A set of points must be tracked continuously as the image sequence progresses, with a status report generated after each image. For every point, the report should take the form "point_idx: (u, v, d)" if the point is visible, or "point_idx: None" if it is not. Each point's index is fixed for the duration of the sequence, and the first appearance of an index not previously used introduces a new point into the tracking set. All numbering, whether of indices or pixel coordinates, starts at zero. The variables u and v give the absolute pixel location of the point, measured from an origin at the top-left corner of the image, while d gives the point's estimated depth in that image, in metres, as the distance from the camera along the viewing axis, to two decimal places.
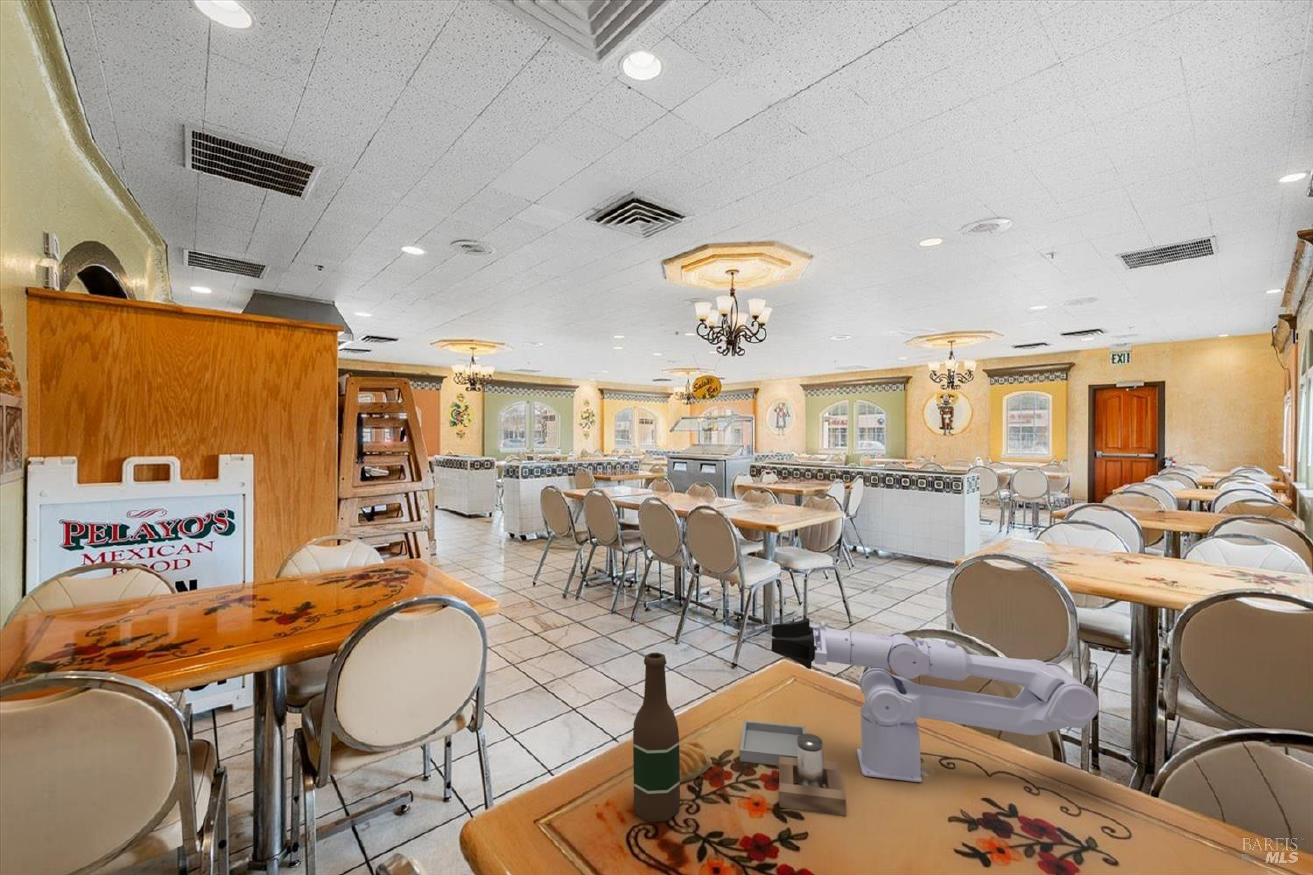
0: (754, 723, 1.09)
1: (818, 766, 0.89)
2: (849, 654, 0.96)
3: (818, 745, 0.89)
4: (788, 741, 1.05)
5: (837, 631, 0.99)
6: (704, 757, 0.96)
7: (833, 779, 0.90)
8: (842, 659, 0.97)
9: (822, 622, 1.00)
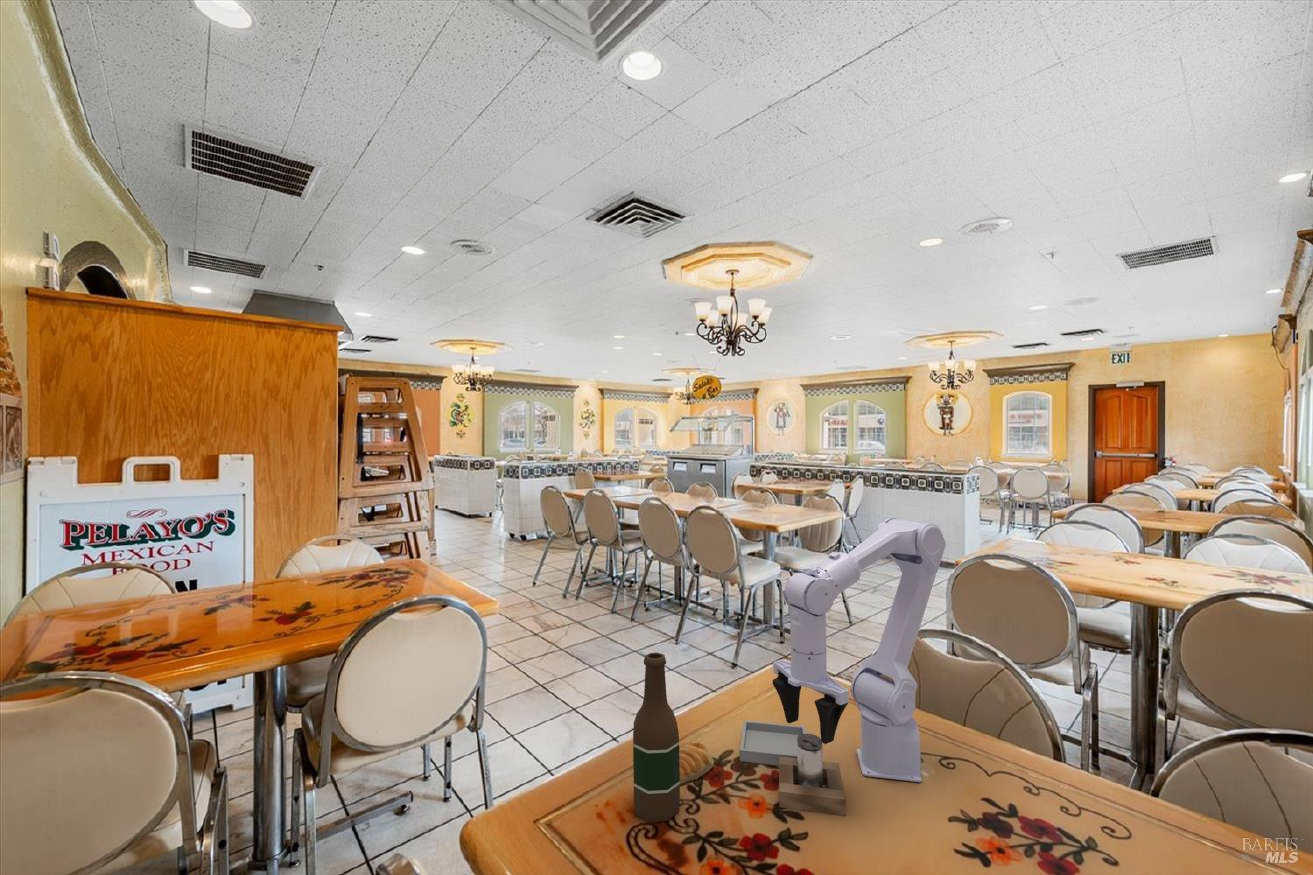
0: (754, 723, 1.09)
1: (818, 766, 0.89)
2: (822, 654, 0.89)
3: (818, 745, 0.89)
4: (788, 741, 1.05)
5: (798, 665, 0.89)
6: (706, 757, 0.96)
7: (833, 779, 0.90)
8: None
9: (792, 683, 0.89)
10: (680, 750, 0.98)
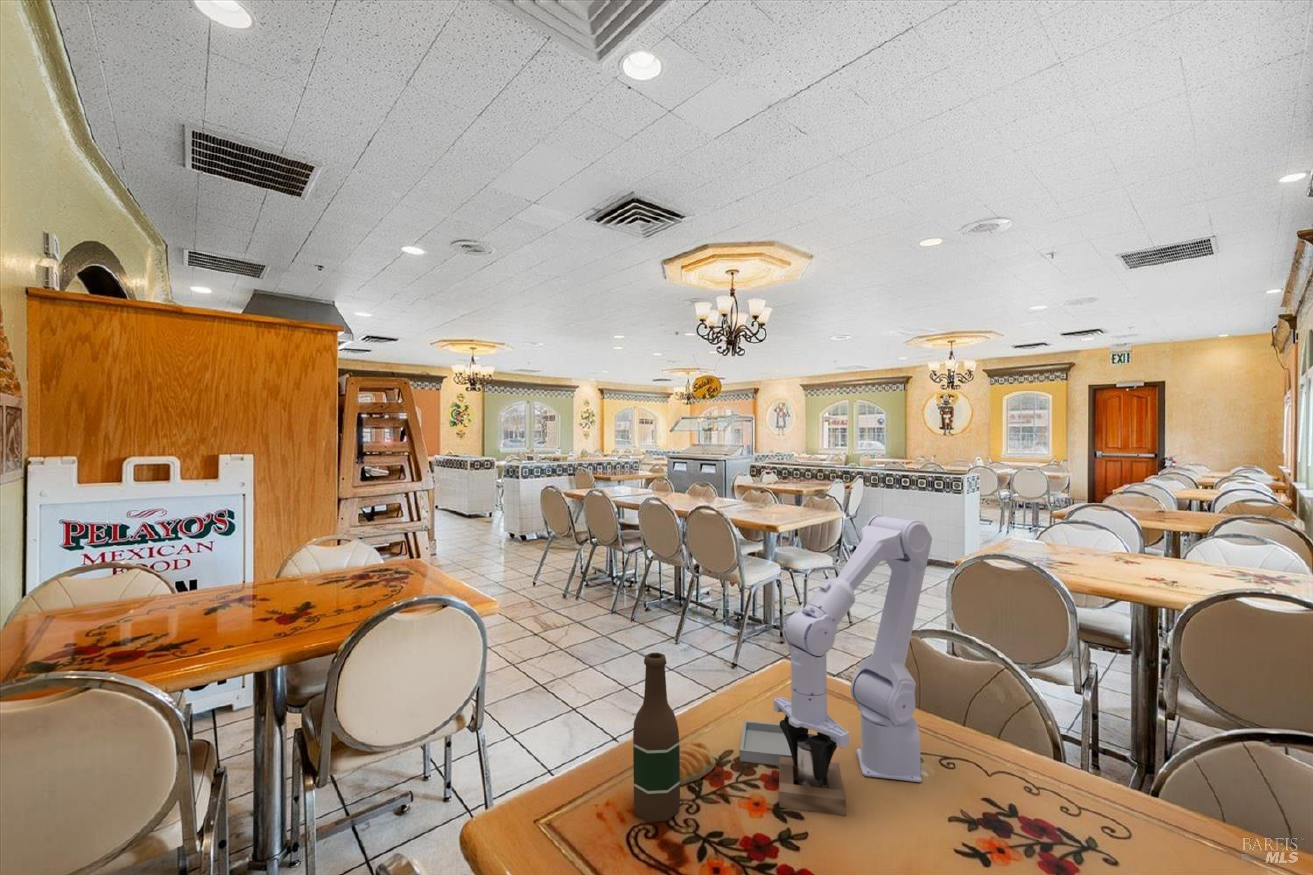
0: (754, 723, 1.09)
1: None
2: (822, 694, 0.89)
3: None
4: None
5: (799, 706, 0.89)
6: (708, 757, 0.96)
7: (833, 779, 0.90)
8: (826, 699, 0.90)
9: (793, 724, 0.88)
10: (682, 750, 0.98)
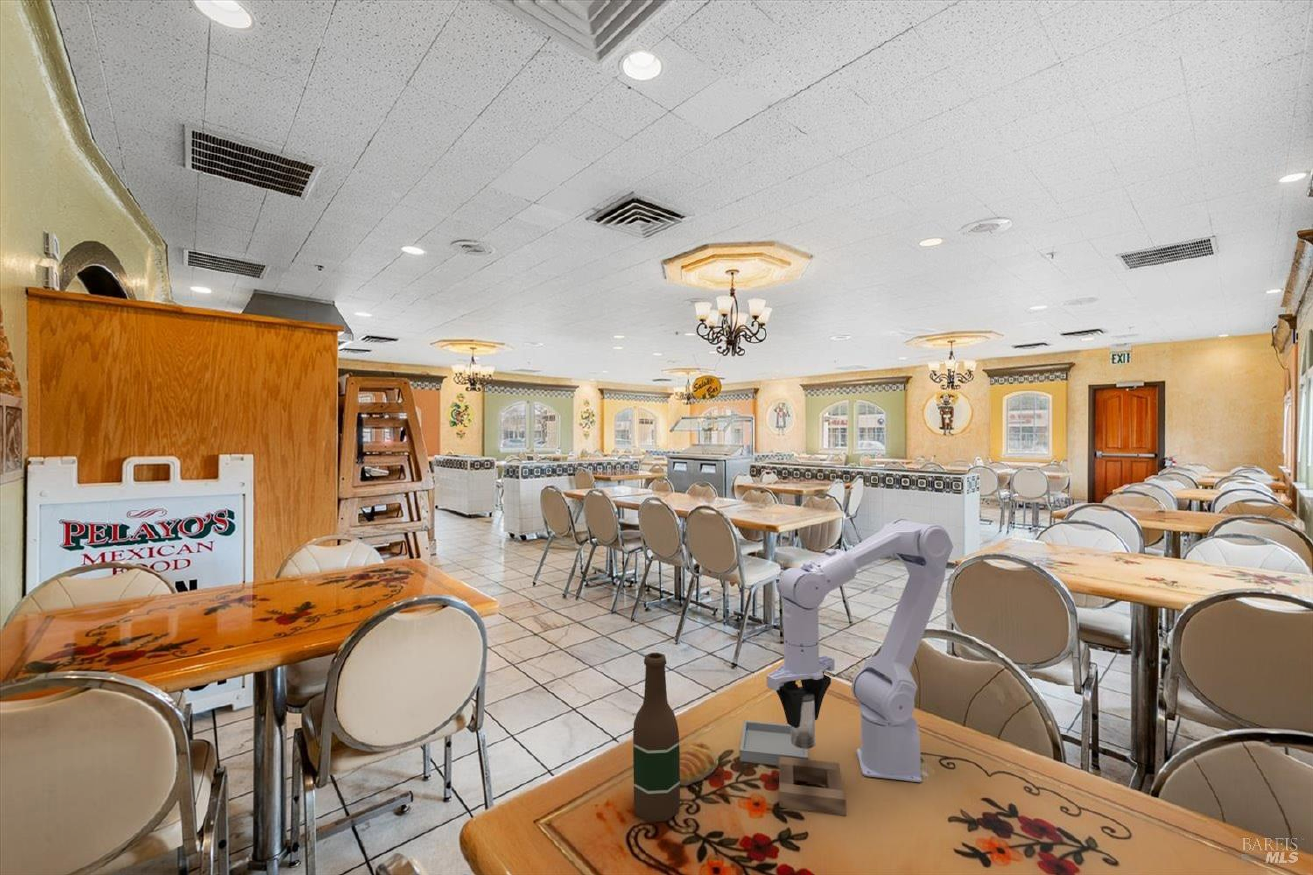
0: (754, 723, 1.09)
1: None
2: None
3: (809, 689, 0.94)
4: (788, 741, 1.05)
5: (816, 657, 0.91)
6: (711, 758, 0.96)
7: (833, 779, 0.90)
8: None
9: (821, 676, 0.90)
10: (684, 751, 0.97)
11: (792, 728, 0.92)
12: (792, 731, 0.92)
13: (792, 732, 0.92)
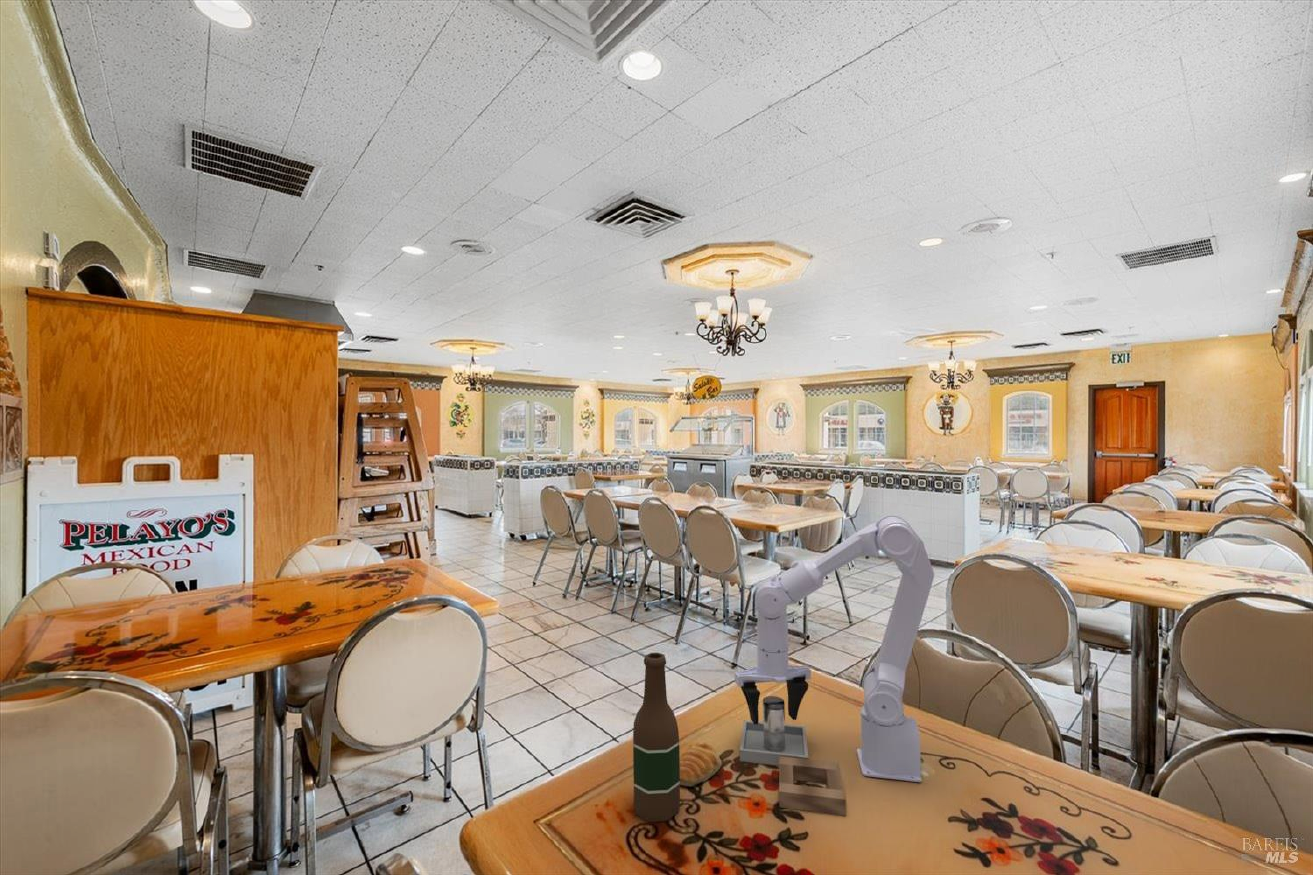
0: None
1: None
2: None
3: (783, 700, 1.04)
4: (788, 741, 1.05)
5: (781, 663, 1.01)
6: (715, 758, 0.96)
7: (833, 779, 0.90)
8: None
9: (783, 681, 1.00)
10: (688, 752, 0.97)
11: (763, 731, 1.04)
12: (763, 734, 1.04)
13: (763, 735, 1.04)
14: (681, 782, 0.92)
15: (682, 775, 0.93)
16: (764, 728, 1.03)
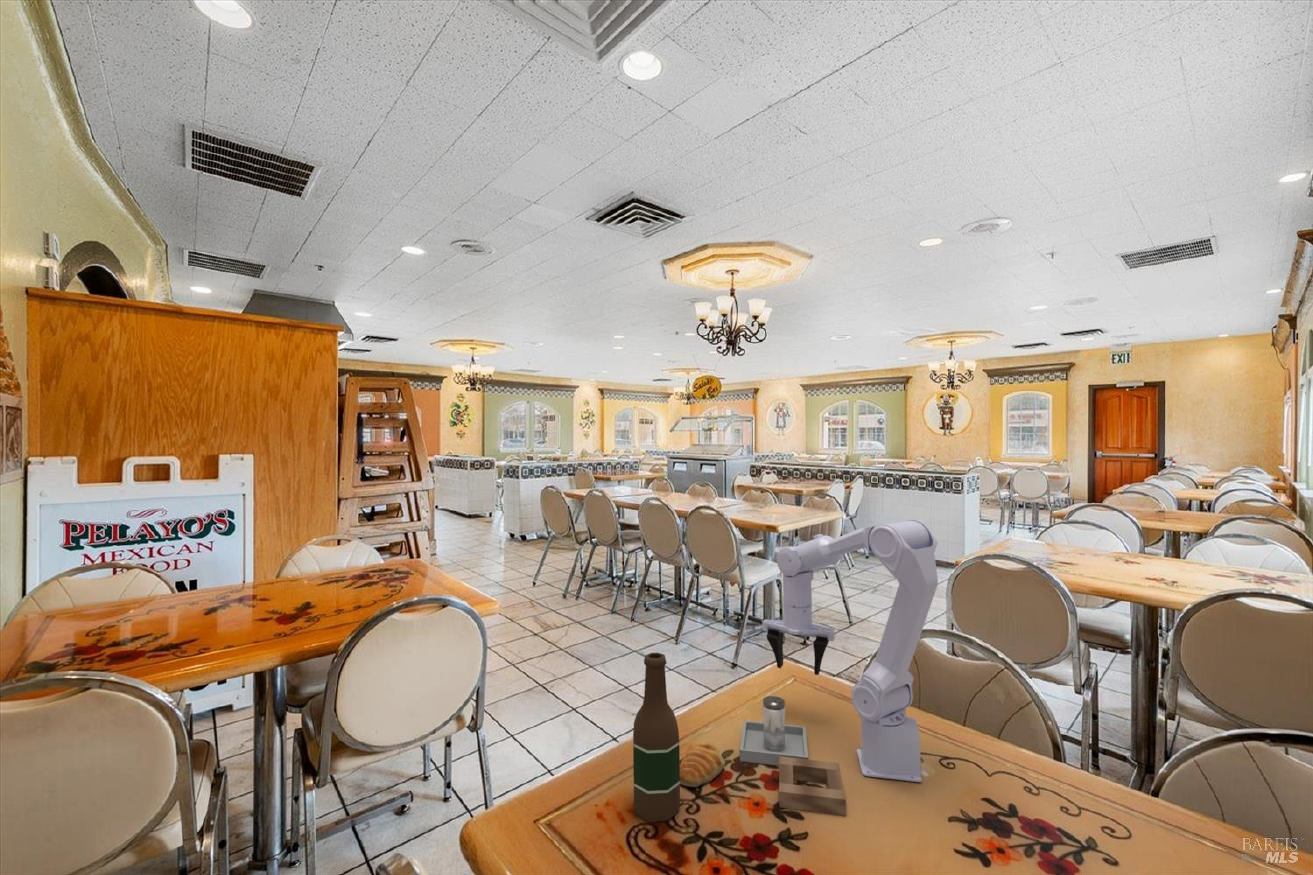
0: (754, 723, 1.09)
1: None
2: (810, 606, 1.14)
3: (783, 700, 1.04)
4: (788, 741, 1.05)
5: (796, 618, 1.12)
6: (718, 758, 0.96)
7: (833, 779, 0.90)
8: None
9: (794, 633, 1.11)
10: (691, 753, 0.97)
11: (763, 731, 1.04)
12: (763, 734, 1.04)
13: (763, 735, 1.04)
14: (686, 783, 0.92)
15: (686, 776, 0.92)
16: (764, 728, 1.03)
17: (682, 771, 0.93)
